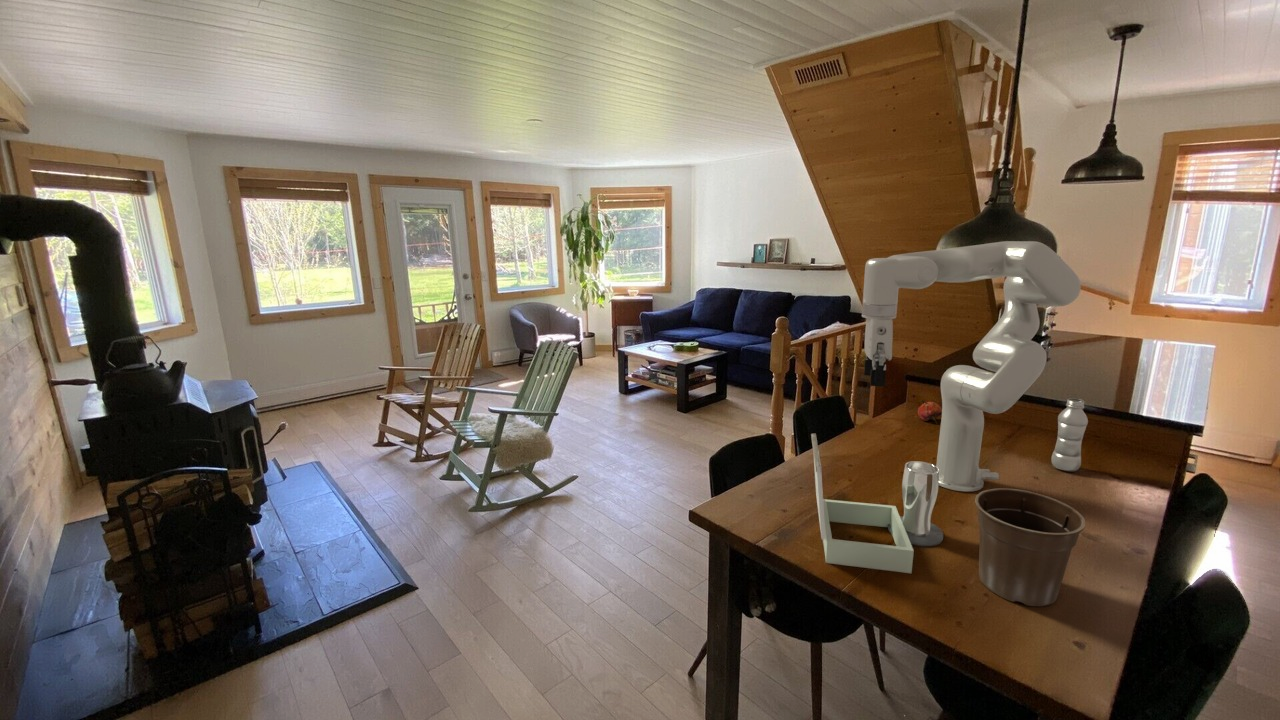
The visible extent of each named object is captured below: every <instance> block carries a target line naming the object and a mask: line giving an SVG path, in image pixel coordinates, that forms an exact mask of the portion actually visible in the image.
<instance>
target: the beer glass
mask: <svg viewBox="0 0 1280 720" xmlns="http://www.w3.org/2000/svg"><path fill="white" fill-rule="evenodd" d="M901 492H902V493H901V494H902V501H903V516H902V517H903V519H902V523H903V526H904V528H905V531H906V533H908V534H910V535H913V536H919V537H925V536H928V535H930V534H931V525H930V522H931V518H932V512H933V510H934V507H935V504H936V501H937V496H938V493H939V469H938V468H937V467H936V465H935V464H932V463H929V462H926V461H918V460H916V461H915V460H914V461H913V460H911V461H907V462H905V464H904V470H903V475H902V483H901Z"/></svg>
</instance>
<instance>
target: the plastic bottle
mask: <svg viewBox="0 0 1280 720" xmlns="http://www.w3.org/2000/svg"><path fill="white" fill-rule="evenodd" d="M1066 401H1067V402H1066V403H1065V406H1066V408H1064V409H1063V410H1062V411H1060V413H1059V414H1058V415H1057V424H1058V425H1057V429H1058V430H1057V437H1056V438H1057V439H1056V443H1055V445H1054V447H1055V448H1054V450H1053V451H1052V455H1051V464H1052V466H1053V467H1054V468H1056V469H1057V470H1061V471H1064V472H1077V471H1078V470H1079V469H1080V467H1081V465H1082V454H1081V453H1082V442H1083V440H1084V439H1083V438H1084V435H1085V431H1086V428H1087V426H1088V423H1089V420H1088V416H1087V415H1086V413H1085V412H1084V409H1085V400H1083V399H1080V398H1076V397H1075V398H1072V397H1070V398H1067V400H1066Z"/></svg>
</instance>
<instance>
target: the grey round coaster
mask: <svg viewBox="0 0 1280 720" xmlns="http://www.w3.org/2000/svg"><path fill="white" fill-rule="evenodd" d="M900 518H901V521H902V519H903V516H900ZM930 525H931V534H930V535H928V536H925V537H919V536H913V535H910V534H908V533H907V535H908V538H909V540H910V543H911V545H912V546H917V547H935V546H938V545H940V544H941V543H942V542H943V541H944V531H942V529H941V528H940V527H939V526H937V524H934V523H933V522H931V521H930ZM887 530H888V532H889V534H891V536H893V531H892V528H891V526H890V524H888V527H887Z"/></svg>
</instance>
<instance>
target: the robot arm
mask: <svg viewBox="0 0 1280 720" xmlns="http://www.w3.org/2000/svg"><path fill="white" fill-rule="evenodd" d="M864 266H865V267H864V279H863V294H862V309H861V317H862V318H865V319H866V320H865V331H864V333H865V334H864V353H865V359H864V367H863V369H864V371H863V375H864V376H866V377H867V376H870V379H869V385H870V387H886V379H887V378H886V377H887V362H886V360H887V361H891V360H892V359H893V339H894V337H893V335H894V333H893V328H894V327H893V326H894V325H893V323H894V322H893V319H896V318H897V312H898V302H899V299H898V297H899V289H901V288H902V289H910V290H911V289H912V290H922V289H925V288H928V287H930V286H931V285H933V284H934V283H935V282H940V283H941V282H942V283H969V282H977V281H981V280H982V281H983V280H987V279H996V278H1005V277H1006V278H1005V280H1004V282H1003V288H1002V289H1003V297H1004V310H1003V313H1002V315H1001V317H1000V318H999V319H998V321H997V322H996V323H995V324H994V325H993V327H992V328H991V329H989V331H988V332H987V333H986V335H985V336H983V338H982V339H981V340H980V341H979V342H978V344H977V345H976V347H975V348H974V349H973V352H972V359H973V361H974V363H975V364H976V365H977V366H979V367H980V368H978V367H975V366H971V365H966V364H958V365H954V366H950V367H949V368H947V369H946V371H945V372H944V373H943V374H942V376H941V379H940V394H941V403H942V404H941V405H942V406H941V409H942V414H941V421H940V427H939V438H938V447H937V457H936V465H935V466H936V467H937V468H938V469H939V486H940V487H942V488H944V489H948V490H951V491H956V492H964V493H965V492H969V493H970V492H977V491H980V490H981V489H983V488H984V481H985V480H991V481H998V480H1000V475H999V472H995V471H994V472H991V471H990V469H989V468H988V469H987V468H980V467H979V465H980V464H979V463H980V458H981V447H982V441H983V433H984V428H985V416H984V412H986V413H988V414H995V415H998V414H1001V413H1004V412H1007V411H1008V410H1009V409H1010V408H1012V407H1013V406H1014V405H1015V404H1016V403H1017V402H1018V401H1019V399H1020V398H1021V397H1022V396H1023V395H1024V394H1025V393H1026V392H1027V390H1029V388H1030V387H1031V386H1033V384H1034V382H1036V381H1037V379H1039V377H1040V376H1041V374H1042V373H1043V371H1044V369H1045V366H1046V365H1047V359H1048V357H1047V351H1046V350H1045V348H1044V347H1043V346H1042V345H1041V344H1040V343H1038V342H1037V341H1034V340H1032V339H1033V338H1034V337H1035V335H1037V333H1038V331H1039V328H1040V324H1041V323H1040V322H1041V321H1040V315H1039V312H1038V307H1037V305H1042V306H1047V307H1049V306H1050V307H1056V308H1057V307H1064V306H1067V305H1071V303H1072V304H1073V302H1075V301H1076V300H1077V299H1078V297H1079V296H1080V293H1081V289H1082V288H1081V287H1082V285H1081V280H1080V277H1079V276H1078V274H1077V273H1076V272H1075V271H1074V270H1073V268H1072V267H1071V266H1069V265H1068V264H1067V262H1066V261H1064V259H1062V257H1061V256H1059V255H1058V254H1057V253H1056V252H1055V251H1054V250H1053V249H1052V248H1051V247H1049V246H1048V245H1047V244H1044V243H1043V242H1040V241H1035V240H1034V241H1031V240H1030V241H1024V240H1023V241H1020V240H1017V241H1015V240H1014V241H1013V240H1012V241H1011V240H1010V241H1009V240H1006V241H998V242H990V243H984V244H983V243H982V244H976V245H967V246H959V247H951V248H943V249H935V250H926V251H924V250H923V251H916V252H915V251H914V252H907V253H900V254H893V255H890V256H888V257H875V258H869V259H868V260H867V261H866V262H865V265H864ZM939 486H938V487H939Z"/></svg>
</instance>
